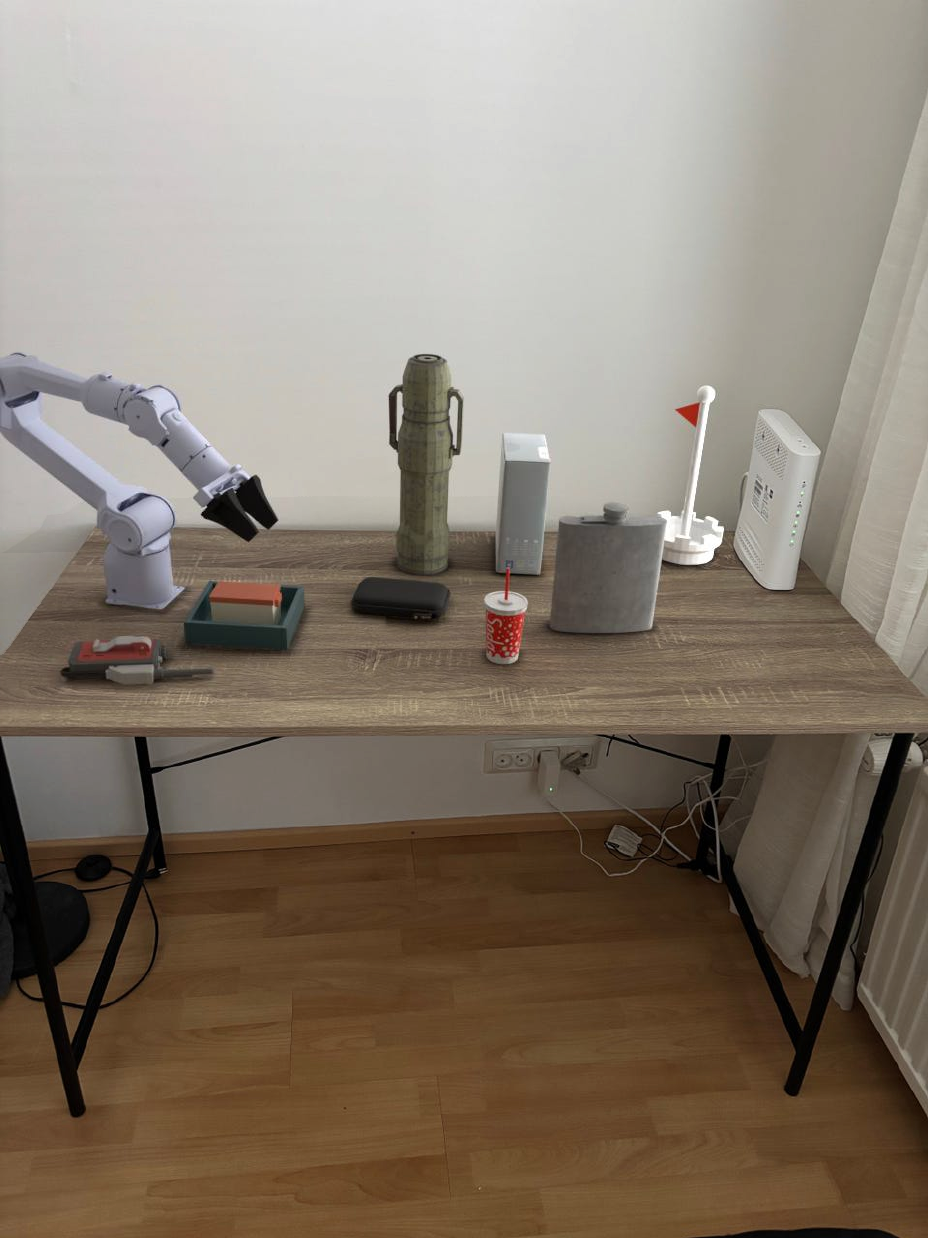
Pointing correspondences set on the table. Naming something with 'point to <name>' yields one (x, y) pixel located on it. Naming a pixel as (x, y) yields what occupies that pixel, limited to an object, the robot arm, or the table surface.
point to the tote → (244, 634)
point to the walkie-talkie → (123, 661)
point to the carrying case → (401, 598)
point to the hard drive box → (522, 503)
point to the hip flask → (607, 572)
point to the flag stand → (692, 500)
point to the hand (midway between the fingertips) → (263, 531)
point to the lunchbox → (246, 603)
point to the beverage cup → (504, 624)
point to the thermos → (424, 462)
